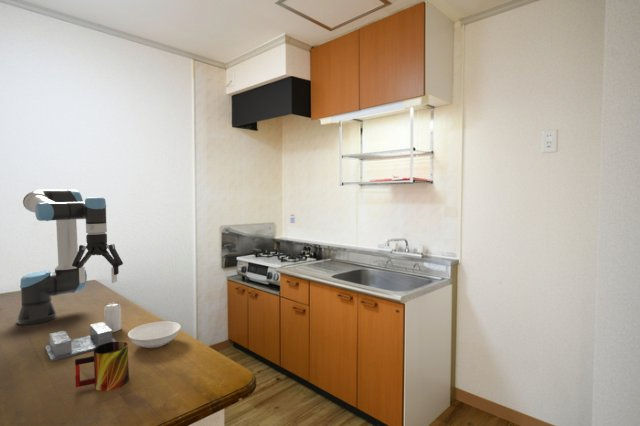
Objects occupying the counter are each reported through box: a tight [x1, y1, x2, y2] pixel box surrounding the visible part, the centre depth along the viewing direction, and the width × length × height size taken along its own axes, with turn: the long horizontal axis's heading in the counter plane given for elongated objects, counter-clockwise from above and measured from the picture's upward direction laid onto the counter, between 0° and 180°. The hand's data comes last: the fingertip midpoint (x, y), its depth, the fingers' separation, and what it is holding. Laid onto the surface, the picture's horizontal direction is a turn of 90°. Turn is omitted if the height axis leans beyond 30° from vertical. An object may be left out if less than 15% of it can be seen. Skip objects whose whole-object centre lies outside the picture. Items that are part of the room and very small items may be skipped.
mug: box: [74, 340, 130, 392], centre depth 114 cm, size 10×14×12 cm
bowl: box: [127, 320, 182, 349], centre depth 145 cm, size 20×20×6 cm
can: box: [103, 302, 122, 333], centre depth 161 cm, size 6×6×12 cm
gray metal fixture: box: [44, 321, 117, 362], centre depth 144 cm, size 16×22×6 cm
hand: (98, 282), depth 152 cm, fingers open, 13 cm apart
